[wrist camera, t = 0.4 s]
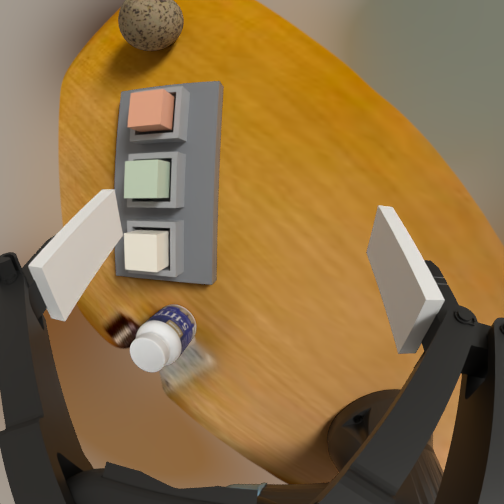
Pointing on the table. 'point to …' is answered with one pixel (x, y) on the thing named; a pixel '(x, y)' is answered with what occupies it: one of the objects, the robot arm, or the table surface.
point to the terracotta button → (151, 111)
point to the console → (176, 182)
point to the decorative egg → (150, 23)
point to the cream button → (146, 250)
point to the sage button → (146, 179)
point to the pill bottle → (163, 338)
